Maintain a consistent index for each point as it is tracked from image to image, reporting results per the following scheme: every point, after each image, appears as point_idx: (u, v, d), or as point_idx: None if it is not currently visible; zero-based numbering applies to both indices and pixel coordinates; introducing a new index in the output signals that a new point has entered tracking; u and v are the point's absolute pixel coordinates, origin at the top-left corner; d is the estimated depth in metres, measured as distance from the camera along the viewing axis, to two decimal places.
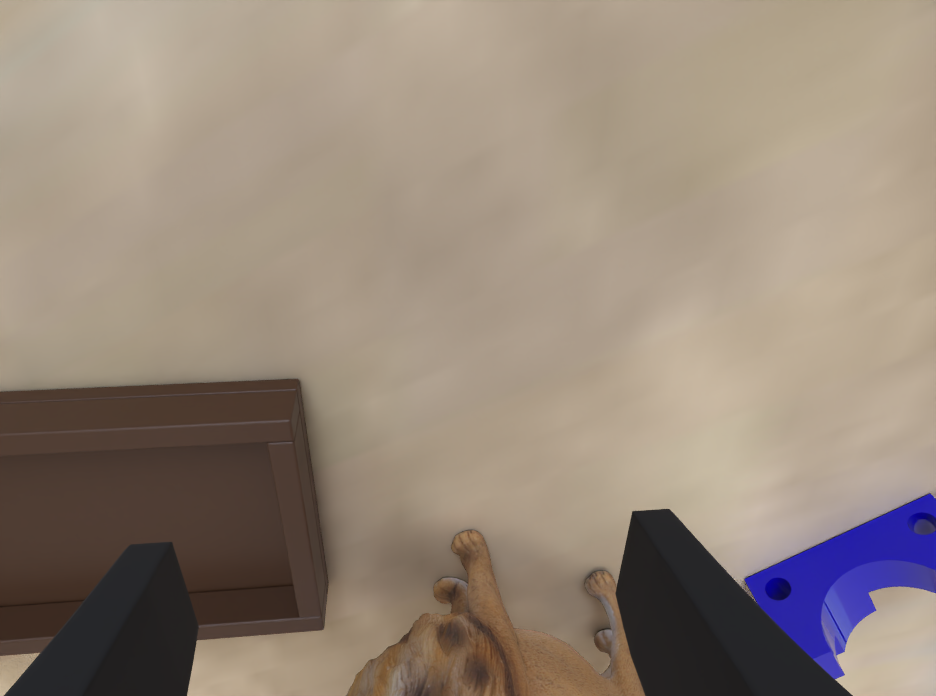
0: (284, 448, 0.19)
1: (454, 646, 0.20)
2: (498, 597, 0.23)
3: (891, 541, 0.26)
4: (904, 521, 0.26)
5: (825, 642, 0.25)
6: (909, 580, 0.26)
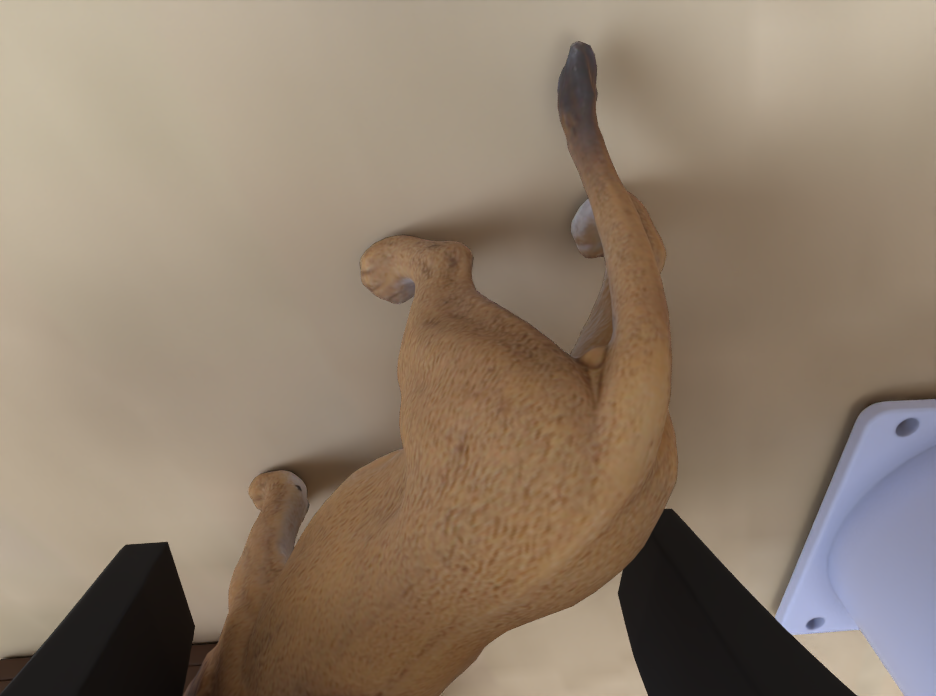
0: None
1: None
2: (252, 555, 0.12)
3: None
4: None
5: None
6: None
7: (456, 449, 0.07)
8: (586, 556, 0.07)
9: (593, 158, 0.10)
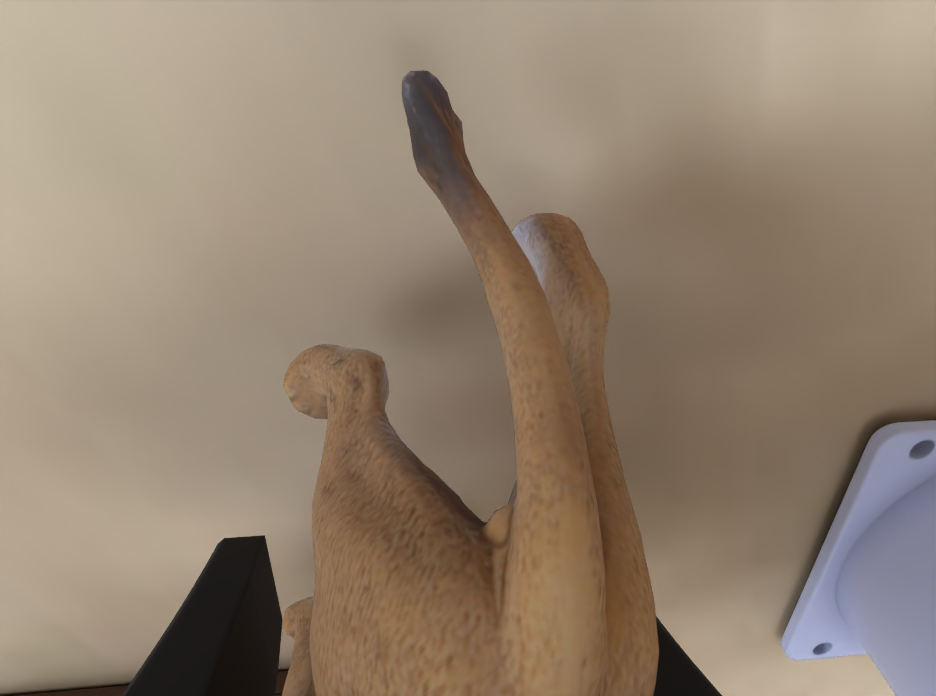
0: None
1: None
2: None
3: None
4: None
5: None
6: None
7: None
8: None
9: (468, 214, 0.07)
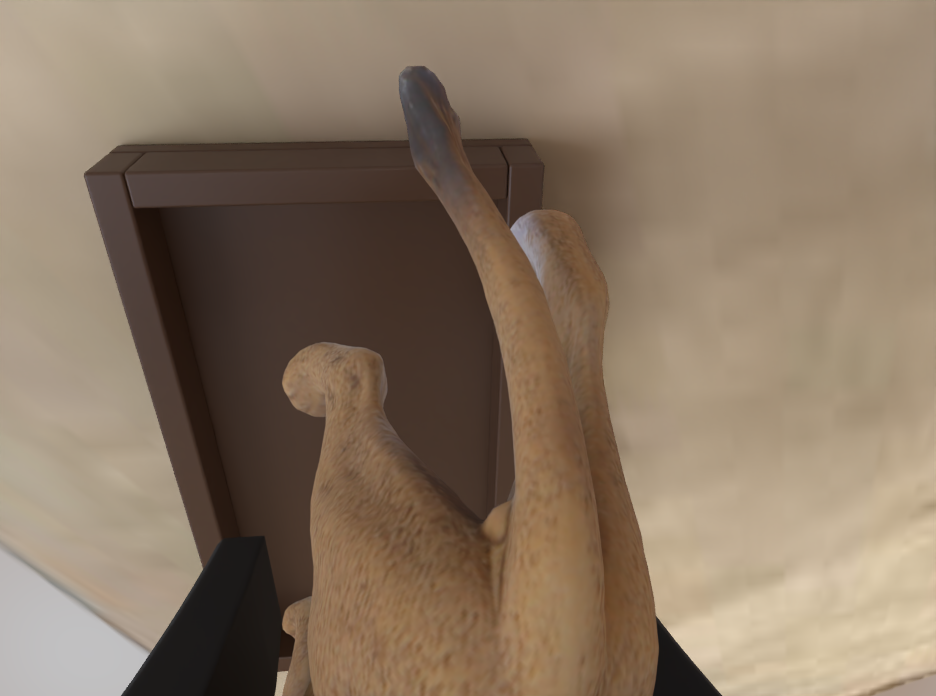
0: (137, 186, 0.14)
1: None
2: None
3: None
4: None
5: None
6: None
7: None
8: None
9: (466, 211, 0.07)
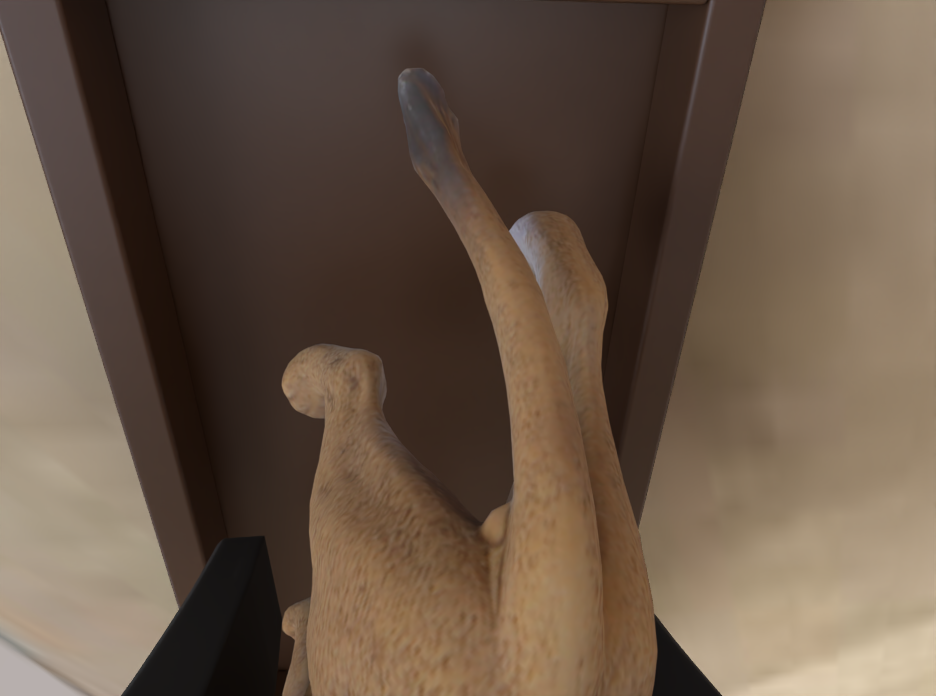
0: None
1: None
2: None
3: None
4: None
5: None
6: None
7: None
8: None
9: (464, 213, 0.07)
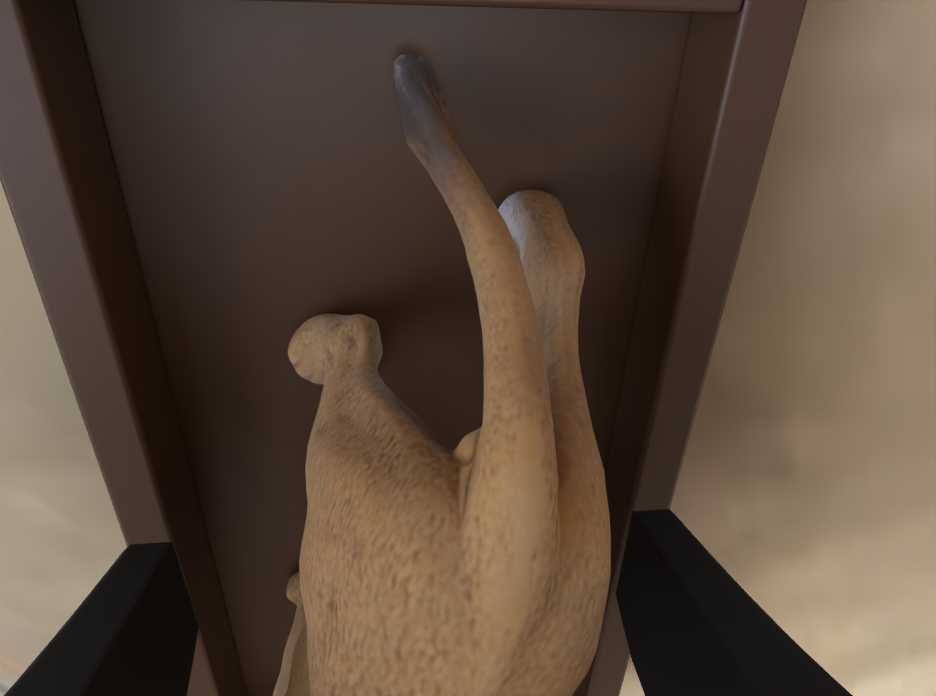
0: None
1: None
2: (284, 676, 0.12)
3: None
4: None
5: None
6: None
7: (329, 606, 0.06)
8: None
9: (451, 183, 0.08)
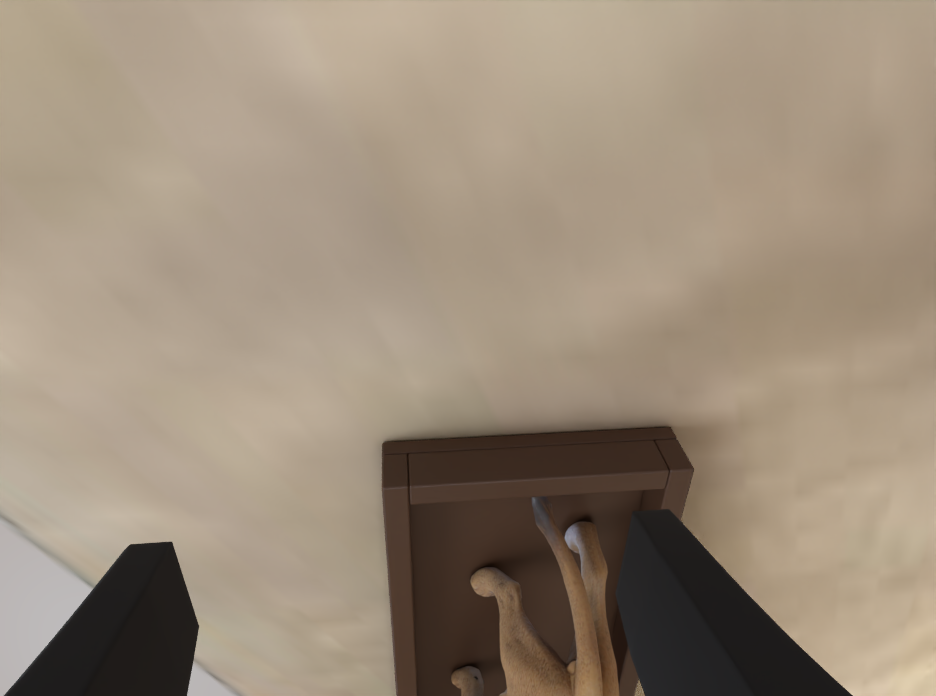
0: (416, 493, 0.20)
1: None
2: None
3: None
4: None
5: None
6: None
7: None
8: None
9: (556, 547, 0.21)
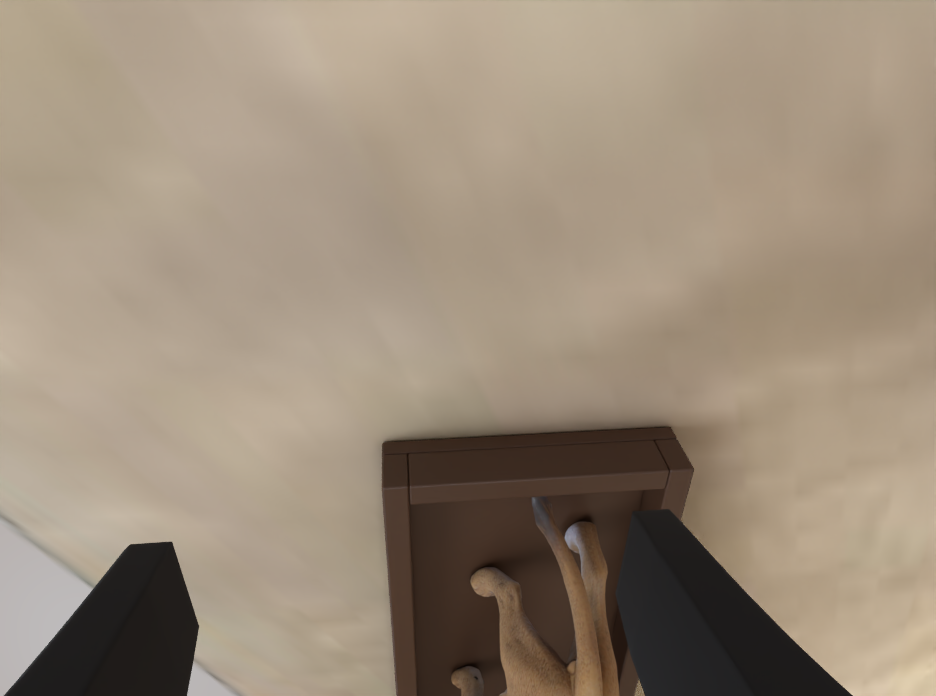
0: (416, 493, 0.20)
1: None
2: None
3: None
4: None
5: None
6: None
7: None
8: None
9: (556, 547, 0.21)
